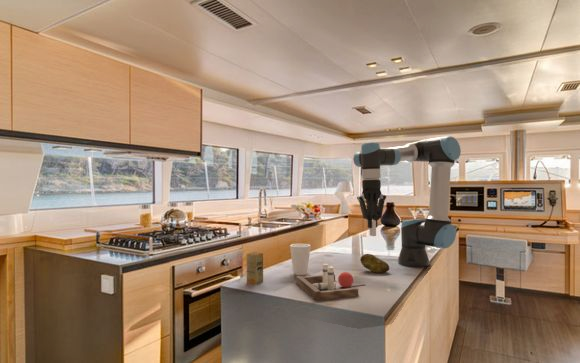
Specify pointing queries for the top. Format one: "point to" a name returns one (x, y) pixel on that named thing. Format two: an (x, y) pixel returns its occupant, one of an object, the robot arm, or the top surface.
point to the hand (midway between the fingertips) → (372, 235)
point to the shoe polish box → (254, 268)
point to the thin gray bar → (357, 285)
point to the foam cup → (300, 258)
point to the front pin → (322, 285)
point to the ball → (345, 279)
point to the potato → (374, 263)
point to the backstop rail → (320, 295)
